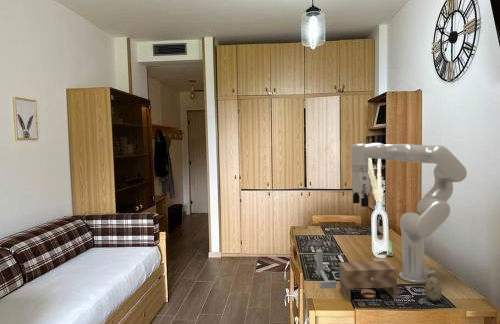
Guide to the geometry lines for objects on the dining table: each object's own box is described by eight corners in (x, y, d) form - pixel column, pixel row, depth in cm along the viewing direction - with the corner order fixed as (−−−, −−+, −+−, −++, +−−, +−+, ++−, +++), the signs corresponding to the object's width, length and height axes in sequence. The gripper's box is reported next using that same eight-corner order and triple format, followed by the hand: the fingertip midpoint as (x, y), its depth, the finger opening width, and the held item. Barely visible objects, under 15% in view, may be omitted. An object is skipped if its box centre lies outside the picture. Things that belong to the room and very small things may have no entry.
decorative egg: (435, 296, 133) (435, 273, 132) (445, 303, 127) (444, 279, 127) (422, 297, 133) (421, 274, 132) (430, 304, 127) (430, 279, 126)
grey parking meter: (325, 271, 164) (325, 248, 164) (336, 287, 145) (335, 261, 145) (312, 272, 164) (311, 249, 164) (321, 288, 145) (320, 262, 145)
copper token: (372, 292, 140) (372, 288, 140) (378, 298, 134) (378, 294, 134) (359, 292, 140) (358, 289, 140) (364, 299, 134) (364, 295, 134)
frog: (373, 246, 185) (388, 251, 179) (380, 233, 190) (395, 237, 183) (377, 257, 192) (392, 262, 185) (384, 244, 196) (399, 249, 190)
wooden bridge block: (386, 288, 143) (386, 260, 142) (398, 299, 132) (397, 269, 131) (340, 290, 142) (339, 262, 142) (347, 301, 132) (347, 271, 131)
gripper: (376, 170, 143) (376, 207, 143) (360, 168, 160) (360, 201, 161) (359, 170, 142) (360, 208, 143) (345, 168, 160) (346, 202, 160)
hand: (360, 204), depth 152 cm, fingers open, 9 cm apart
